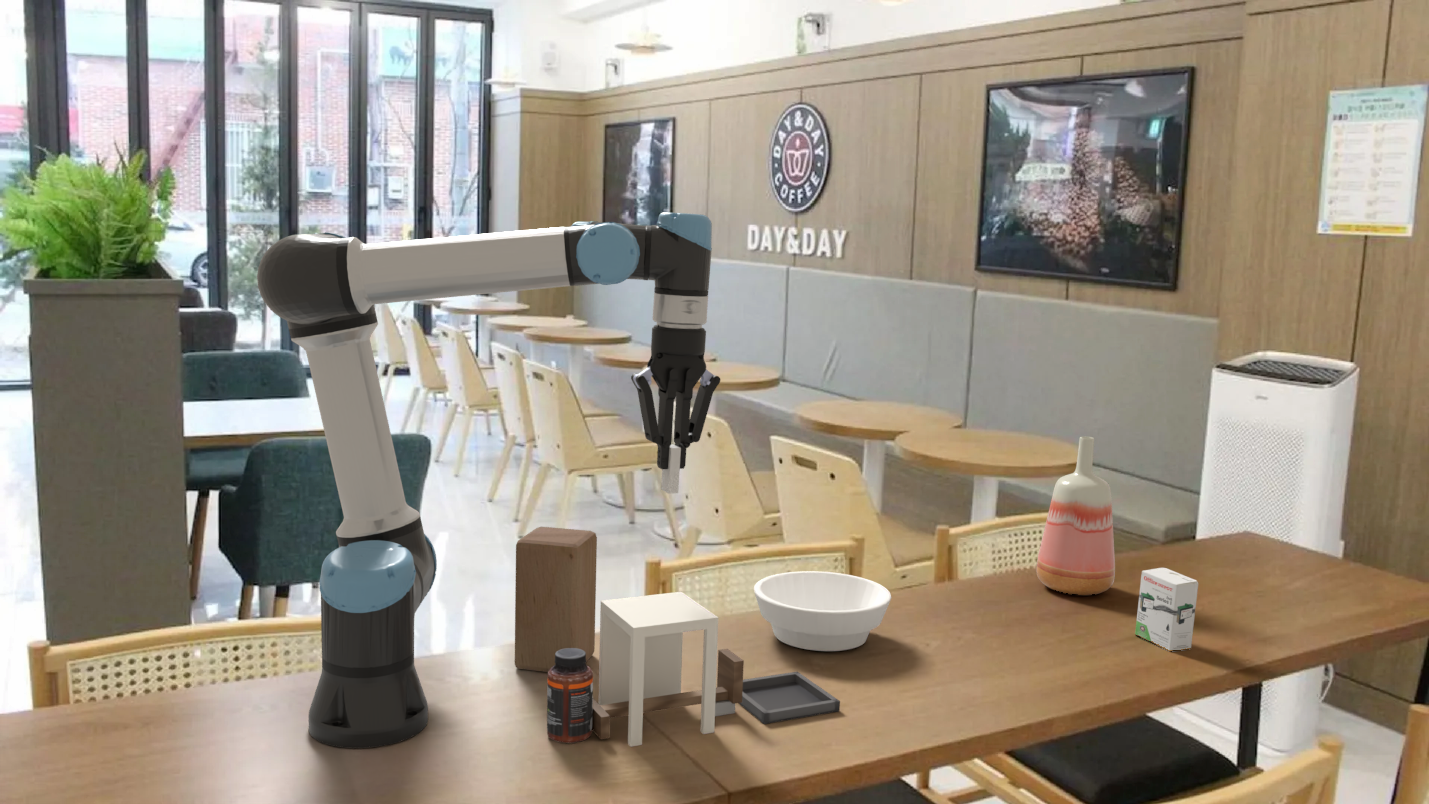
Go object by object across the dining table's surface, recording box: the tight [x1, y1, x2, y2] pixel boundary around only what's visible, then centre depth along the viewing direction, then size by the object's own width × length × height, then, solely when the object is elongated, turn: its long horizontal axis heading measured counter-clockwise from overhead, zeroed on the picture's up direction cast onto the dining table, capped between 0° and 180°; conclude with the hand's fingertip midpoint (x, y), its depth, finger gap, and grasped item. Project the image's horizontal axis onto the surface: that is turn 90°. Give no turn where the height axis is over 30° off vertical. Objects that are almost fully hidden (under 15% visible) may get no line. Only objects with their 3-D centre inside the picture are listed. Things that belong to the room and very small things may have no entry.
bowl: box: [753, 570, 892, 652], centre depth 197 cm, size 22×22×8 cm
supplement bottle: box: [546, 648, 594, 744], centre depth 156 cm, size 6×6×11 cm
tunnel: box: [597, 591, 736, 748], centre depth 162 cm, size 18×12×16 cm
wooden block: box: [514, 526, 598, 673], centre depth 181 cm, size 10×10×20 cm
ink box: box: [1134, 567, 1199, 651], centre depth 201 cm, size 9×5×12 cm, turn 23°
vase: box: [1035, 435, 1116, 596], centre depth 228 cm, size 14×14×30 cm
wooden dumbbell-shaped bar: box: [592, 648, 745, 740], centre depth 162 cm, size 21×7×8 cm, turn 116°
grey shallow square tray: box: [738, 671, 841, 725], centre depth 170 cm, size 12×12×2 cm
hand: (669, 491), depth 170 cm, fingers closed
